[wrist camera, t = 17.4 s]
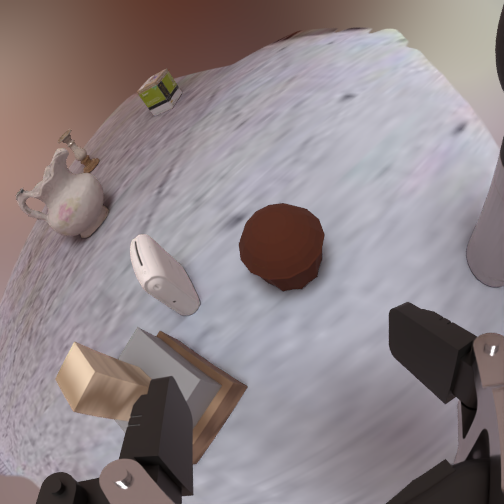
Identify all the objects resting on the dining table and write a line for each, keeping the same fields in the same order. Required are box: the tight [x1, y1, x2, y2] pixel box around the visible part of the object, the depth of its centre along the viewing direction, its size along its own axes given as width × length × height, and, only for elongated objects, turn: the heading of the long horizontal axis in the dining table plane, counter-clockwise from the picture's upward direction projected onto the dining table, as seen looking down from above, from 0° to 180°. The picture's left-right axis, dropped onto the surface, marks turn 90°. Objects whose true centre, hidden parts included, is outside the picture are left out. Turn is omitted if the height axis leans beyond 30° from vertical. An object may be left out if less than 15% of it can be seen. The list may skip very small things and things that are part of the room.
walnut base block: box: [156, 331, 247, 464], centre depth 34 cm, size 14×14×5 cm
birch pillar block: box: [56, 342, 152, 421], centre depth 24 cm, size 5×5×10 cm
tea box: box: [137, 69, 182, 116], centre depth 98 cm, size 15×10×15 cm
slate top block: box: [114, 327, 222, 433], centre depth 30 cm, size 12×12×5 cm
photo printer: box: [130, 234, 200, 316], centre depth 41 cm, size 10×4×12 cm, turn 31°
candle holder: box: [58, 129, 99, 173], centre depth 92 cm, size 9×9×20 cm
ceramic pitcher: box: [16, 148, 109, 238], centre depth 63 cm, size 22×20×25 cm
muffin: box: [239, 203, 324, 291], centre depth 37 cm, size 12×11×10 cm
